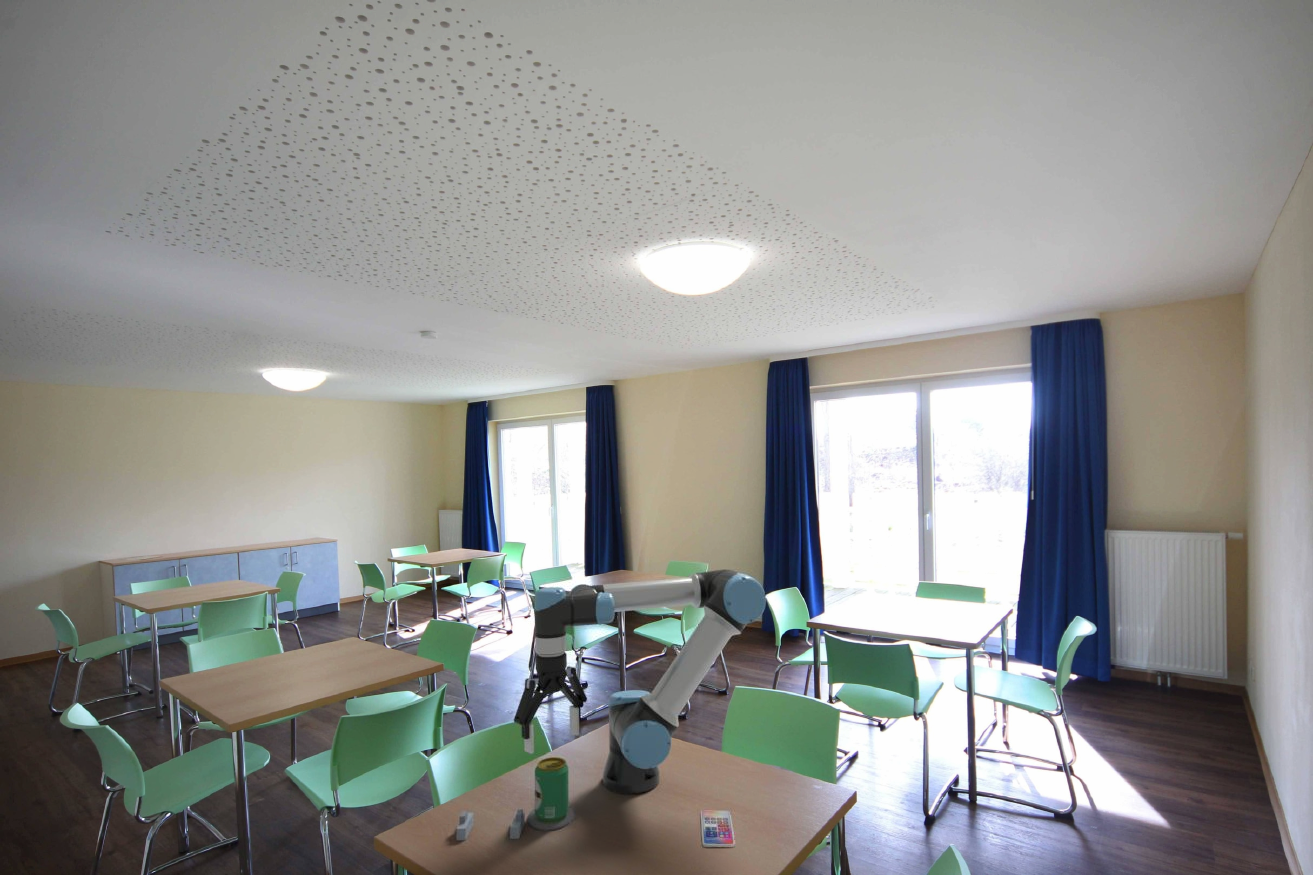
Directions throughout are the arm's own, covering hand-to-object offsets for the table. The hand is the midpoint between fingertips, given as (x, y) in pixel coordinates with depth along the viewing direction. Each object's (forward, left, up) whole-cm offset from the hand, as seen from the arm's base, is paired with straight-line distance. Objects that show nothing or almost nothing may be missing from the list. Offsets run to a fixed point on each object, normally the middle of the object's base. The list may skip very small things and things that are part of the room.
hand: (552, 742), depth 152 cm
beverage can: (0, 0, -17) cm, 17 cm away
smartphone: (-39, +7, -18) cm, 43 cm away
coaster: (0, 0, -17) cm, 17 cm away
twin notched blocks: (+13, +5, -17) cm, 22 cm away
